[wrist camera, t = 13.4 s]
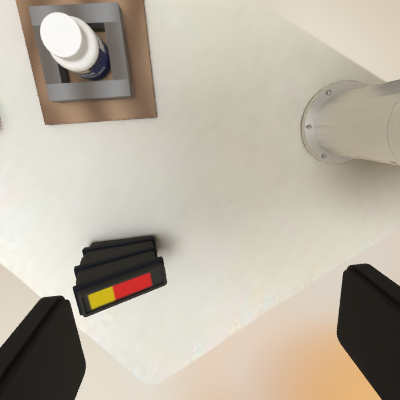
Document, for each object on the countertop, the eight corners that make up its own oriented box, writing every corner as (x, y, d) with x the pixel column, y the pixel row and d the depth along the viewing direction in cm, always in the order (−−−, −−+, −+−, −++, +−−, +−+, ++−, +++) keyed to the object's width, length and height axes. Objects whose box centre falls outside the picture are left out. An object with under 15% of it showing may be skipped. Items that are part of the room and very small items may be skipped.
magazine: (67, 247, 41) (73, 294, 28) (144, 225, 47) (178, 257, 34) (73, 267, 42) (81, 321, 29) (147, 243, 48) (181, 280, 35)
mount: (142, -8, 33) (137, -27, 29) (156, 117, 38) (153, 116, 34) (19, -3, 32) (-3, -21, 28) (49, 124, 37) (33, 124, 33)
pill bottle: (88, 89, 35) (54, 75, 26) (64, 51, 34) (19, 21, 24) (121, 69, 35) (99, 47, 25) (98, 29, 33) (66, -9, 24)
